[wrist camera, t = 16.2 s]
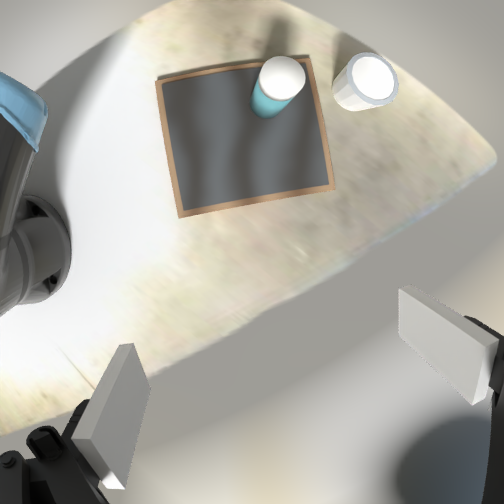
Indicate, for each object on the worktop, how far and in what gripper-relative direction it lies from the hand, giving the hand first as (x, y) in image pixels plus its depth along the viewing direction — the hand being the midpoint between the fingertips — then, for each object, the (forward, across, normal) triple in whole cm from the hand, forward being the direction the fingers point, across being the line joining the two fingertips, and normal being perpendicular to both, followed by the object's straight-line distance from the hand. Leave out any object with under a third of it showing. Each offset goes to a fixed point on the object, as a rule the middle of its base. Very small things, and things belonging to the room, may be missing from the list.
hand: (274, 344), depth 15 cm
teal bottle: (+25, +6, +16) cm, 31 cm away
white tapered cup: (+27, +18, +17) cm, 37 cm away
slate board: (+27, +3, +13) cm, 30 cm away
